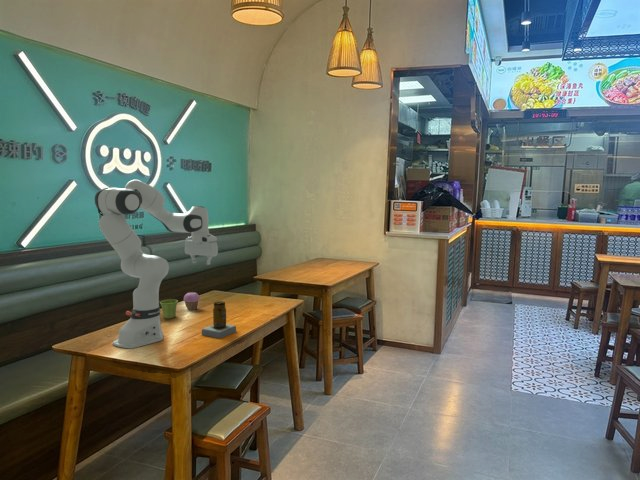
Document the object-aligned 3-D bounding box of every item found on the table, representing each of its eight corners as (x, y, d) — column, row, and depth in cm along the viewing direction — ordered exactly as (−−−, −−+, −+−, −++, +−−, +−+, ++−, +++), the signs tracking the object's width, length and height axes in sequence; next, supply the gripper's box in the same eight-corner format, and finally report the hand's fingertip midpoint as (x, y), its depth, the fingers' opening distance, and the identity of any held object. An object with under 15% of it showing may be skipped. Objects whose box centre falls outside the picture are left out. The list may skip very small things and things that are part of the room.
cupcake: (202, 308, 268) (202, 291, 267) (191, 312, 261) (190, 294, 260) (192, 306, 273) (191, 290, 272) (180, 309, 266) (180, 292, 265)
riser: (219, 338, 215) (219, 332, 215) (201, 334, 220) (201, 328, 220) (236, 331, 226) (236, 325, 226) (218, 328, 231) (218, 322, 231)
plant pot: (157, 319, 246) (157, 303, 245) (163, 314, 255) (162, 299, 254) (175, 319, 246) (175, 303, 245) (180, 314, 256) (180, 299, 255)
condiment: (223, 323, 228) (222, 299, 227) (231, 327, 222) (231, 303, 220) (209, 326, 223) (208, 302, 222) (217, 330, 217) (217, 305, 216)
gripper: (181, 236, 242) (182, 263, 244) (210, 239, 232) (211, 266, 234) (190, 235, 247) (191, 261, 249) (219, 237, 237) (220, 264, 239)
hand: (201, 263), depth 241 cm, fingers open, 8 cm apart
